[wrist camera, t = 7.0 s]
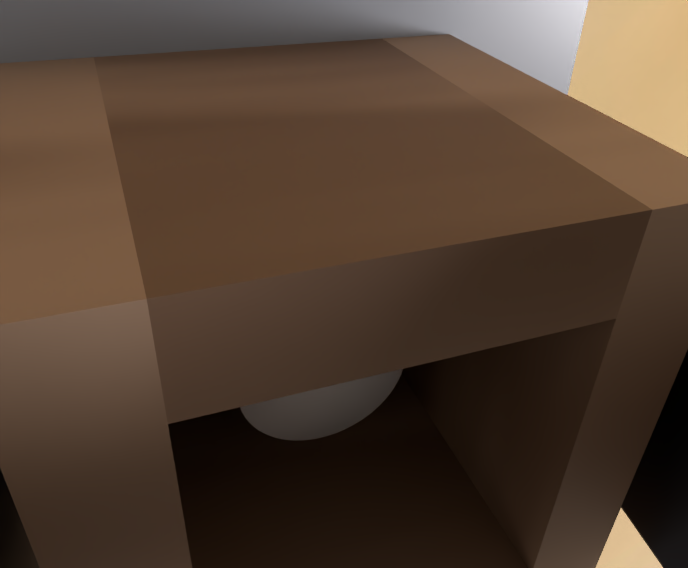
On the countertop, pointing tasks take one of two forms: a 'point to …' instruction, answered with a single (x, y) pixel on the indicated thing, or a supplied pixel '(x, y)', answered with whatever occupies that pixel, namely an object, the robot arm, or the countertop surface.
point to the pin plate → (284, 29)
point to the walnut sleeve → (328, 306)
